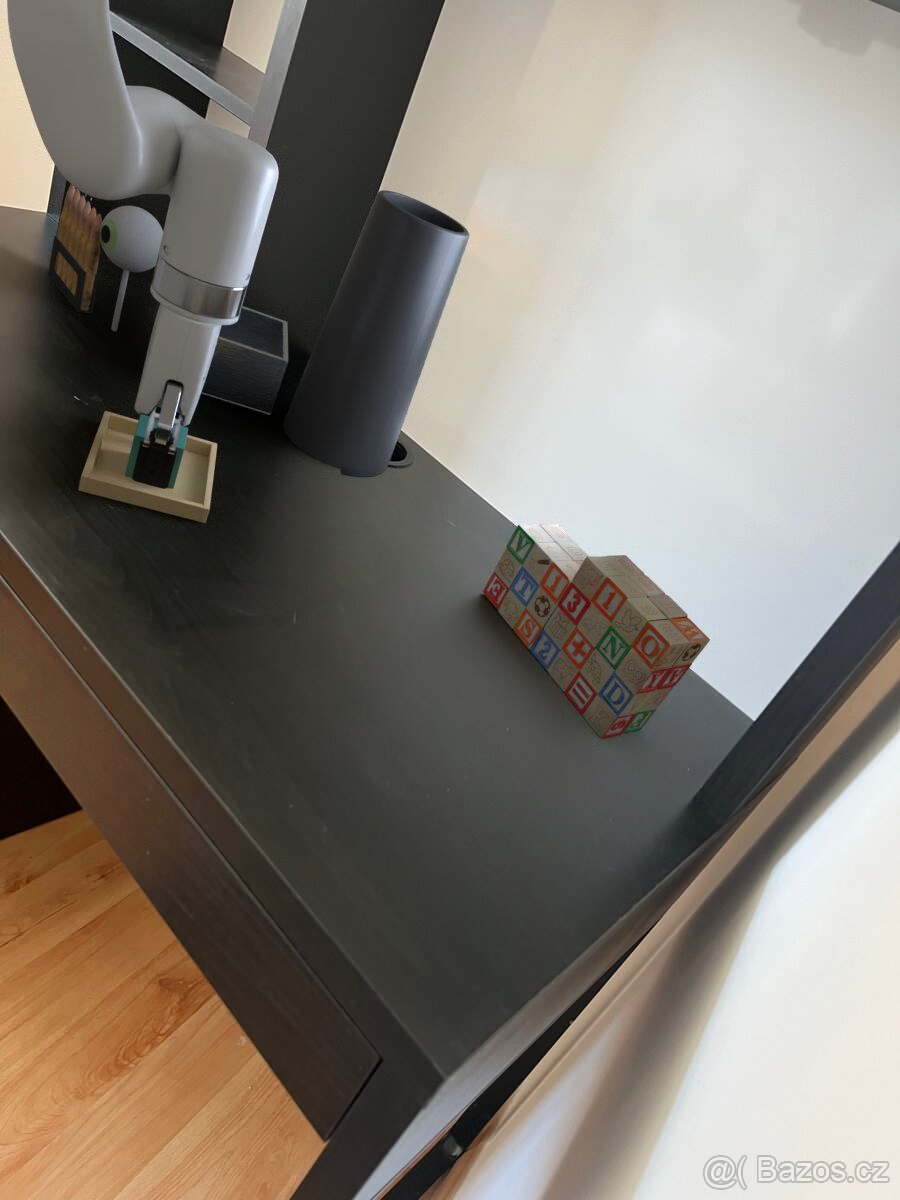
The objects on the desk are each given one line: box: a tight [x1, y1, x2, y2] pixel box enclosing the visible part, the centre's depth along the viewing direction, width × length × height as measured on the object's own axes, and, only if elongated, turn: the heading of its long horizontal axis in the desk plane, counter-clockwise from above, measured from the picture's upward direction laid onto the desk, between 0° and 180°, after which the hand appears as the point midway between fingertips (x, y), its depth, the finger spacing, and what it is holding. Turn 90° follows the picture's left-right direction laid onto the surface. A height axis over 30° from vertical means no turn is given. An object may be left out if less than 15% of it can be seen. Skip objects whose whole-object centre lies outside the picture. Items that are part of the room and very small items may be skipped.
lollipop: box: [100, 205, 164, 332], centre depth 101 cm, size 7×7×15 cm
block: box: [125, 413, 189, 489], centre depth 81 cm, size 4×4×4 cm
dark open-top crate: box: [200, 305, 289, 418], centre depth 103 cm, size 13×13×8 cm
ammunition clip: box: [47, 183, 103, 315], centre depth 105 cm, size 11×2×12 cm, turn 39°
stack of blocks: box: [482, 523, 711, 740], centre depth 84 cm, size 21×6×12 cm, turn 34°
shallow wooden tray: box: [78, 410, 218, 524], centre depth 82 cm, size 11×13×2 cm
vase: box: [282, 189, 470, 477], centre depth 97 cm, size 14×14×29 cm
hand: (155, 460), depth 82 cm, fingers open, 8 cm apart
